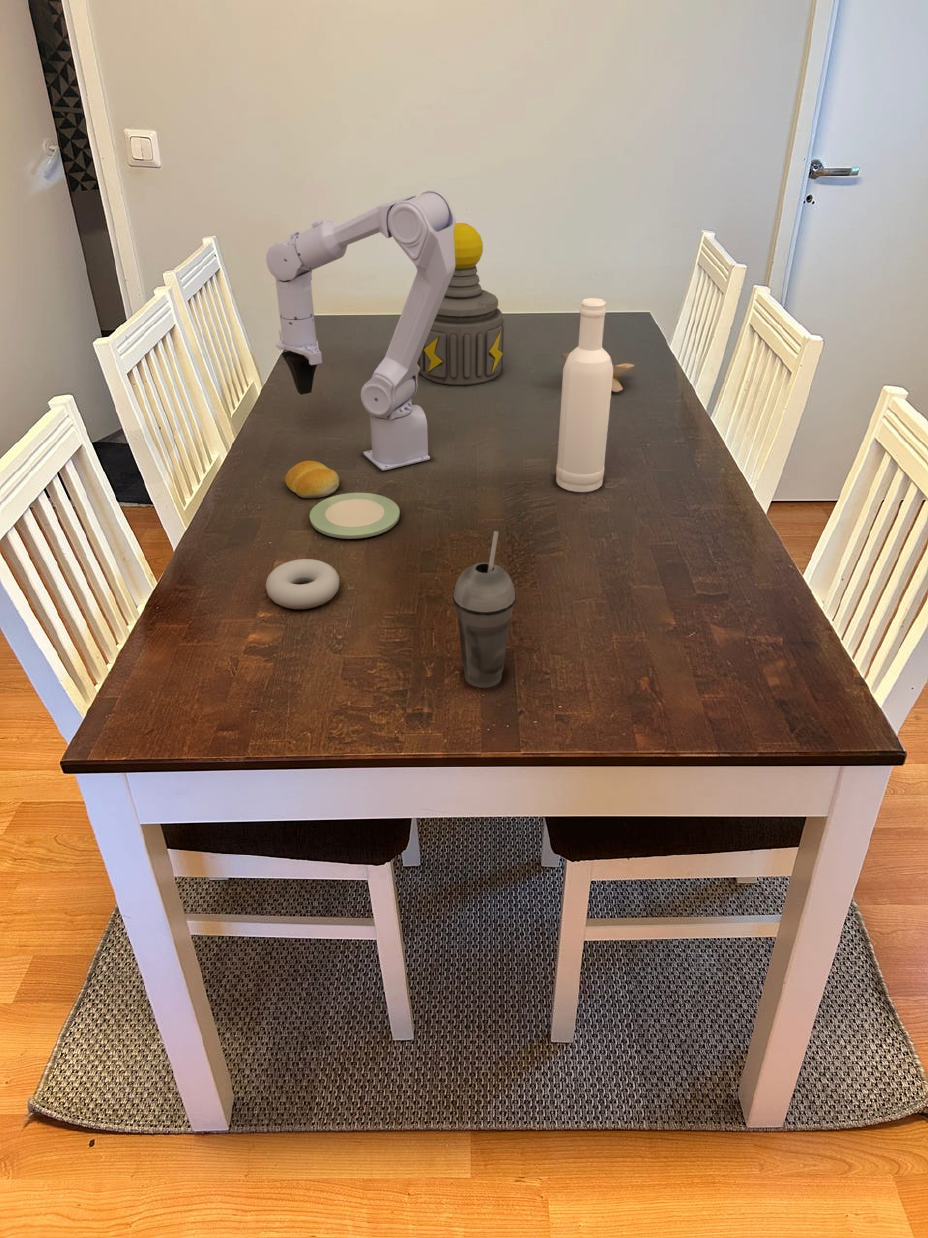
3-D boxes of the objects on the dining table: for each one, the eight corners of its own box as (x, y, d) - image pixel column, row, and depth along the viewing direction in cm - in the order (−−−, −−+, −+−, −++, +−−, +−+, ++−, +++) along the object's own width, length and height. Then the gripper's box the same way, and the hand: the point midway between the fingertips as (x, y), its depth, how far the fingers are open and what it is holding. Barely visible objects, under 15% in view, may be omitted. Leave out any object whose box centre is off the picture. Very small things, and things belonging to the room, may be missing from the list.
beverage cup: (451, 659, 116) (449, 517, 104) (509, 656, 116) (514, 515, 105) (455, 696, 110) (454, 550, 98) (516, 693, 110) (522, 547, 99)
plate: (376, 491, 153) (376, 484, 153) (415, 527, 143) (415, 520, 143) (296, 511, 148) (295, 504, 147) (331, 550, 138) (331, 543, 137)
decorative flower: (650, 374, 193) (647, 330, 186) (627, 404, 187) (623, 359, 180) (585, 366, 200) (580, 323, 193) (561, 393, 194) (555, 350, 187)
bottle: (612, 481, 156) (631, 300, 139) (584, 497, 152) (599, 311, 134) (574, 467, 161) (588, 290, 144) (545, 482, 156) (556, 301, 139)
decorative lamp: (451, 351, 210) (450, 208, 193) (520, 368, 201) (526, 220, 184) (398, 374, 198) (392, 225, 181) (470, 394, 189) (471, 238, 172)
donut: (258, 586, 130) (280, 621, 122) (254, 565, 128) (277, 599, 120) (325, 569, 134) (351, 602, 126) (323, 548, 132) (349, 580, 124)
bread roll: (308, 505, 149) (305, 482, 147) (279, 485, 155) (276, 463, 153) (350, 489, 154) (348, 467, 151) (320, 471, 159) (318, 450, 157)
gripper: (259, 307, 160) (268, 383, 168) (290, 330, 150) (298, 410, 157) (297, 301, 163) (305, 376, 171) (330, 323, 153) (337, 402, 160)
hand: (304, 392), depth 164 cm, fingers closed
